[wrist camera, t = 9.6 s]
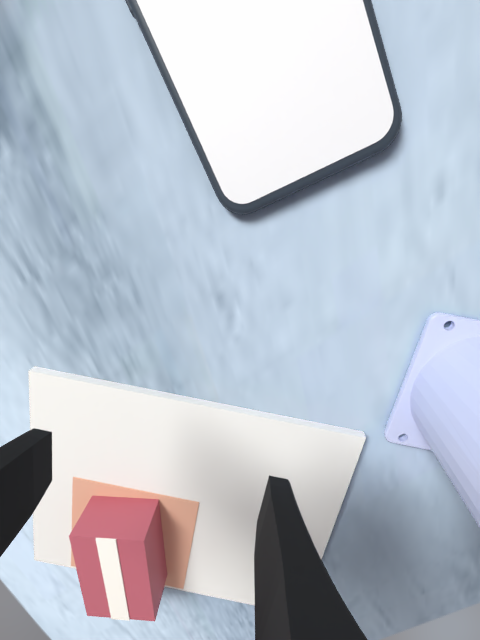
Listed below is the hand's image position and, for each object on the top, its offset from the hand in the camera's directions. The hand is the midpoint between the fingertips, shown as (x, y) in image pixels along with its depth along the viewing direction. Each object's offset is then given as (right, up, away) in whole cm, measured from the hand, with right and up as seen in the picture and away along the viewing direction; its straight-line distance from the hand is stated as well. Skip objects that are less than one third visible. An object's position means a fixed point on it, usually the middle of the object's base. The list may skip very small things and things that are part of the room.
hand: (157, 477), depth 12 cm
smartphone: (+3, +19, +4) cm, 19 cm away
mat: (-1, -7, +13) cm, 14 cm away
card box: (-5, -10, +13) cm, 17 cm away
